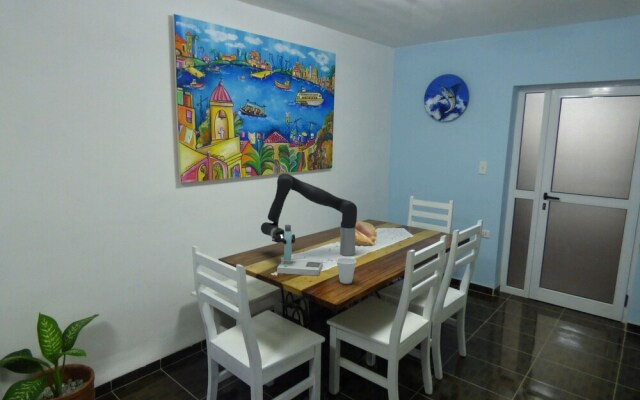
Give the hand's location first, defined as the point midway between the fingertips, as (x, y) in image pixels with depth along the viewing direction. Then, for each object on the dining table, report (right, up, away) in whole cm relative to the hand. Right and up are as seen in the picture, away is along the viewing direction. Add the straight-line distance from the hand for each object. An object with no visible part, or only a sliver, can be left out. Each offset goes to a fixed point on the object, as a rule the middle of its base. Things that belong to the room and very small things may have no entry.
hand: (289, 241), depth 201 cm
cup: (+29, -19, -14) cm, 37 cm away
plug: (-1, -10, +4) cm, 11 cm away
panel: (+6, -15, +4) cm, 17 cm away
